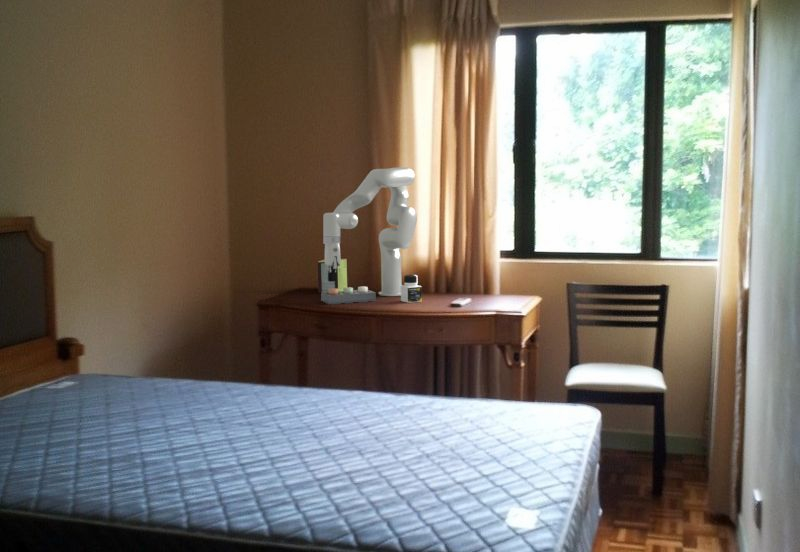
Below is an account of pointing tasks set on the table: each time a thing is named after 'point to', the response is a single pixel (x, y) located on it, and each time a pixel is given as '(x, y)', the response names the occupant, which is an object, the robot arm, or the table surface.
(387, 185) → the robot arm
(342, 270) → the protein box
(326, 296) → the console
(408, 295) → the medicine bottle
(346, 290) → the sage button
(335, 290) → the rust button
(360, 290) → the cream button
